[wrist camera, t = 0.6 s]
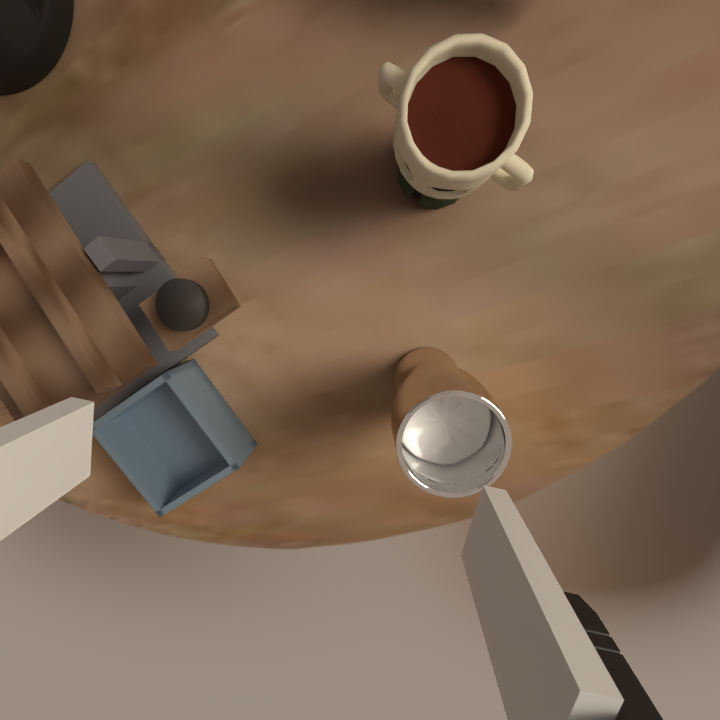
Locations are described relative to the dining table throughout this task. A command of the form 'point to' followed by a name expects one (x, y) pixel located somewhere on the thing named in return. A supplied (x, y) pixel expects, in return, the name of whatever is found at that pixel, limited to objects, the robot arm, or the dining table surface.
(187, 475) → the cup
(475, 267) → the dining table surface
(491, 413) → the beer glass
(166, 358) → the lever base
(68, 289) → the tilt lever
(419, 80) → the character mug
